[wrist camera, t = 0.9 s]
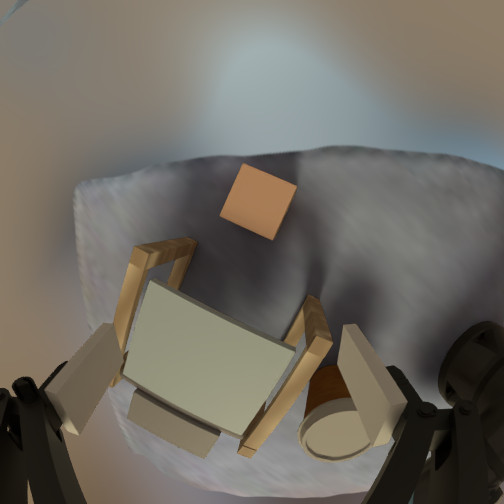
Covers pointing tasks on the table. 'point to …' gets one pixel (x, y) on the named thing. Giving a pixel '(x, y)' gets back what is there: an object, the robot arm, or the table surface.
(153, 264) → the frame
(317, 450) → the disposable coffee cup
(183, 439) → the trapdoor
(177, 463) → the table surface
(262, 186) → the block
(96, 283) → the table surface
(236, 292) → the table surface
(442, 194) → the table surface
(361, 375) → the robot arm
